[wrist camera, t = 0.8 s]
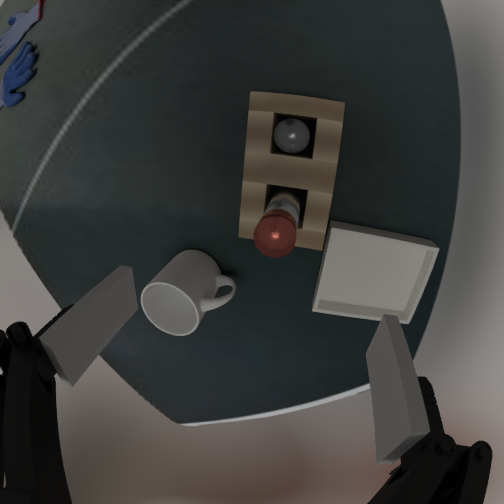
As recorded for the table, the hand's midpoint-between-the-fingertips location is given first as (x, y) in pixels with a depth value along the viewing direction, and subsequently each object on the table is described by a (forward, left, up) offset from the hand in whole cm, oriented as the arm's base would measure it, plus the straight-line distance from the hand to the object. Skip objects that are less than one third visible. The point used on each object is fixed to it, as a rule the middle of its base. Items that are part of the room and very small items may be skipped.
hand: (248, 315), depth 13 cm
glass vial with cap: (0, 0, -25) cm, 25 cm away
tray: (+9, +14, -25) cm, 30 cm away
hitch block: (-4, 0, -25) cm, 26 cm away
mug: (+14, -11, -25) cm, 31 cm away
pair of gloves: (-33, -67, -26) cm, 79 cm away
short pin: (-8, 0, -25) cm, 27 cm away
